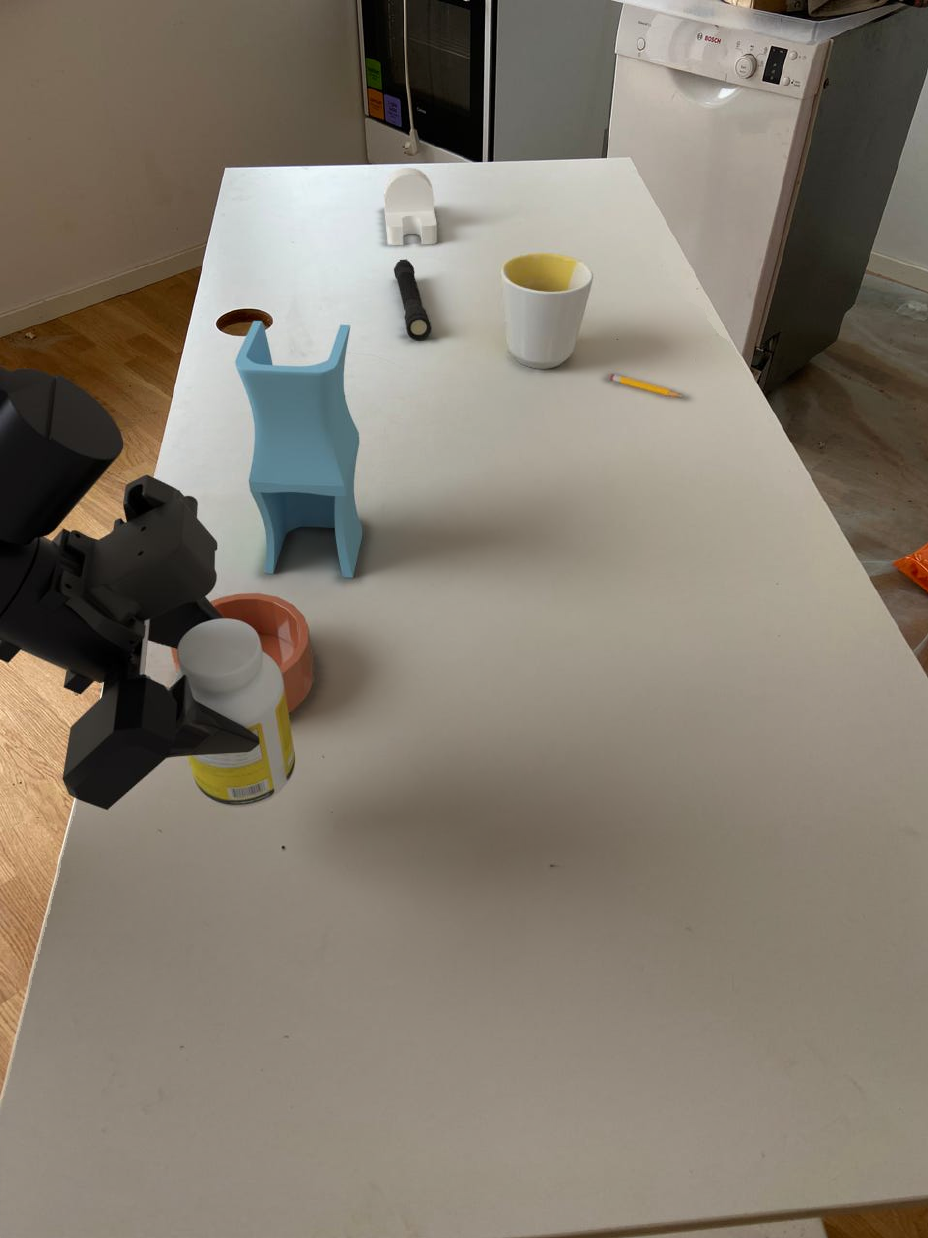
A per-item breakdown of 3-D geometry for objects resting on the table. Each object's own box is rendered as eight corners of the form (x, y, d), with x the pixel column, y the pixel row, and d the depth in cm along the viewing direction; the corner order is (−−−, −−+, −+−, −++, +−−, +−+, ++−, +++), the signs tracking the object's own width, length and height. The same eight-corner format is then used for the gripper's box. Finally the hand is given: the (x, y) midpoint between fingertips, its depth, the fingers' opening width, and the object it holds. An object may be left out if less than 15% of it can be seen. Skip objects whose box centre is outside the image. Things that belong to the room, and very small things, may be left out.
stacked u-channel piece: (365, 523, 91) (351, 323, 77) (352, 578, 85) (335, 373, 72) (282, 518, 91) (253, 319, 78) (264, 573, 86) (229, 369, 72)
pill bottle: (269, 718, 66) (247, 592, 58) (314, 783, 62) (297, 657, 54) (178, 760, 63) (142, 633, 55) (220, 830, 60) (187, 705, 52)
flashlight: (406, 341, 117) (406, 317, 115) (392, 281, 128) (391, 259, 126) (431, 339, 117) (431, 316, 115) (415, 280, 129) (414, 257, 127)
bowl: (194, 743, 72) (182, 703, 69) (173, 650, 79) (162, 610, 76) (328, 708, 74) (323, 667, 71) (297, 621, 81) (291, 581, 78)
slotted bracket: (384, 209, 146) (382, 155, 141) (430, 208, 147) (429, 154, 141) (388, 245, 137) (385, 188, 131) (437, 244, 137) (436, 187, 132)
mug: (590, 378, 111) (600, 291, 104) (501, 380, 110) (505, 292, 103) (573, 322, 121) (581, 238, 113) (491, 323, 120) (494, 239, 113)
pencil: (612, 378, 111) (612, 373, 111) (683, 397, 108) (684, 392, 108) (609, 381, 111) (610, 376, 110) (681, 401, 108) (682, 395, 108)
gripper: (74, 613, 40) (358, 752, 49) (115, 381, 53) (332, 525, 62) (-63, 756, 44) (221, 859, 53) (7, 509, 57) (224, 625, 66)
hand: (254, 702), depth 59 cm, fingers closed on pill bottle, 6 cm apart
